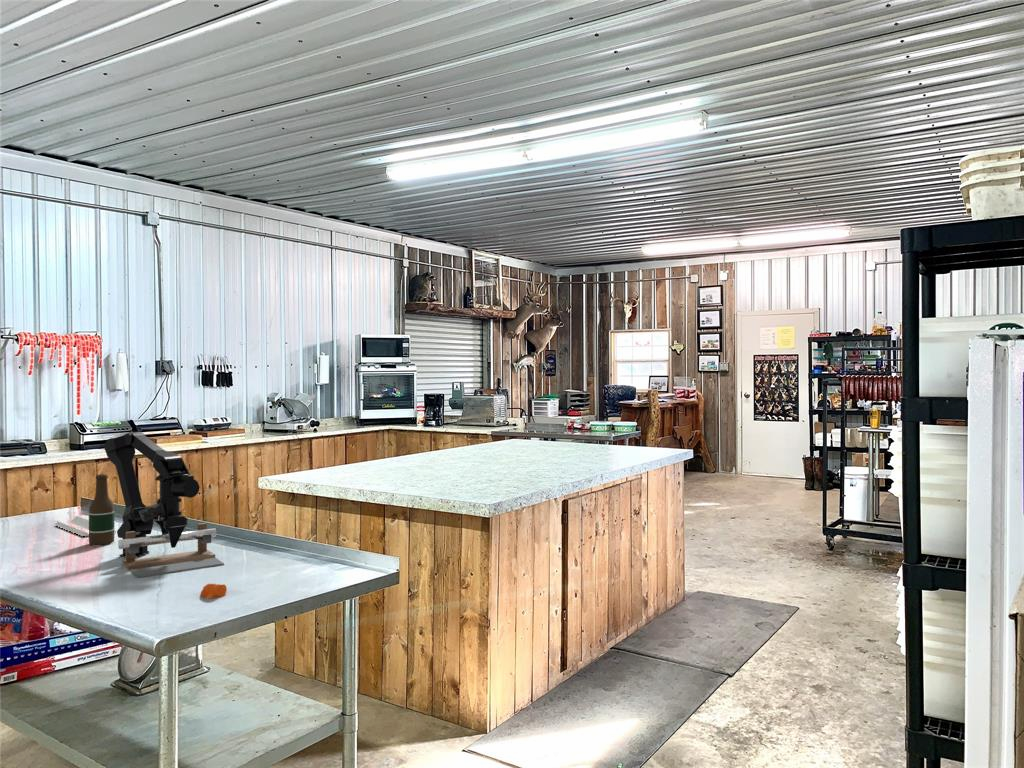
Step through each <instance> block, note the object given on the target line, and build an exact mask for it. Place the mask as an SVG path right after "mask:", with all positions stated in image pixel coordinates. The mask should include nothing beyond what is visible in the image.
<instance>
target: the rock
mask: <svg viewBox="0 0 1024 768" xmlns="http://www.w3.org/2000/svg"><path fill="white" fill-rule="evenodd" d="M227 588H228V587H227V585H226V584H224V583H222V584H221V583H220V584H219V583H207V584H205V585H204V586H203V588H202V591H201V592H200V594H199V595H200V597H202V598H205V599H206V600H211V599H216V598H221V597H224V596H226V593H227V590H228V589H227Z"/></svg>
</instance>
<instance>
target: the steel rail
mask: <svg viewBox="0 0 1024 768" xmlns="http://www.w3.org/2000/svg"><path fill="white" fill-rule="evenodd" d="M205 534H211V538H216V537H217V536H218V535H217V529H216V527H215V528H207V529H205V530H198V529H197V530H189V531H183V532H182V534H181V536H180V538H179V540H178V542H179V543H180V542H185V541H187V542H188V541H195V540H198V539H203V535H205ZM117 541H118V543H117V544H118V547H117V548H118V549H119V550H123V549H125V548H130V544H133V543H139V547H140V546H156V545H162V544H163V545H164V544H170V538H169V534H163V535H162V534H157V535H146V537H138V538H130V539H123V538H121V539H118V540H117ZM178 542H177V543H178Z"/></svg>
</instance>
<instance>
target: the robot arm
mask: <svg viewBox="0 0 1024 768" xmlns="http://www.w3.org/2000/svg"><path fill="white" fill-rule="evenodd" d="M136 450H137V451H138V452H139V453H141V454H142V455H143V456H144V457H146V458H147V459H148V460H149V461H151V462H152V468H153V469H154V470H155V471H156V472H157V473H158V476H156V477H155V479H154V480H155V481H158V482H159V498H157V499H156V503H155V504H153V505H147V506H146V505H145V504H144V503H143V500H142V495H141V491H140V488H139V484H138V483H139V482H138V480H137V476H136V472H135V467H134V463H133V460H134V459H135V458H134V457H135V455H136ZM104 451H105V453H106V457H107V459H108V460H109V461H110V462H111V463H112V464H113V465H114V466H115V468H116V473H117V477H118V482H119V485H120V489H121V493H122V497H123V501H124V505H125V509H124V511H123V514H122V523H121V525H120V526H119V527H118V529H117V530H116V532H117V533H116V535H117V537H118V539H126V532H130V531H135V538H138V537H147V536H148V535H151V534H152V531H153V526H154V523H156V524H157V525H158V526H159V529H160V531H161V535H163V534H169V538H170V543H169V544H170V548H172V549H174V548H176V547H177V544H178V540H179V538H180V536H181V534H182V532H184V530H185V528H186V526H187V525H188V517H186V516H185V515H183V514H182V511H181V510H180V507H181V504H180V503H181V502H182V498H188V499H193V498H195V497H196V496H197V495H198V493H199V492H200V487H201V486H200V485H199V481H198V480H196V479H194V478H195V476H194V475H193V474H190V470H189V469H188V467H187V465H186V464H185V461H184V459H183V457H182V456H181V455H180V454H177V453H175V452H172V451H170V450H169V451H168V450H165V449H163V448H162V447H160V446H159V444H157V443H155V442H154V441H153V440H151V439H150V438H149V437H148V436H146V435H145V433H144V432H142V431H132V432H128V433H125V434H122V435H120V436H117V437H110V438H108V439H107V441H106V442H105V443H104ZM148 546H149V545H148ZM148 546H140V547H139V553H135V558H138V557H141V556H144V555H147V554H149V553H150V550H148V549H149V547H148ZM119 557H120V558H121V557H125V558H126V548H125V549H122V553H121V554H119Z"/></svg>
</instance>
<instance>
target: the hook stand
mask: <svg viewBox="0 0 1024 768" xmlns="http://www.w3.org/2000/svg"><path fill="white" fill-rule="evenodd" d="M207 524H208V523H206V522H202V523H197V530H205V529H208V527H207V526H208V525H207ZM130 538H135V531H130V532H126V539H130ZM207 544H212V537H211V534H205V535H203V539H197V550H195V551H194V550H193V551H187V552H185V551H184V552H180V553H172V554H165V555H157V556H149V557H142V558H136V557H135V553H139V543H133V544H130V548H126V557H125V560H122V563H121V565H122V566H123V565H124V566H125V567H124V566H123V567H124V568H125V569H126V570H127V571H131V570H134V569H141V568H148V567H154V566H161V565H168V564H175V563H182V562H189V561H196V560H203V559H210V558H216V554H215V553H214V552H212V551H210V550H209V549H208V548H207V546H208V545H207Z"/></svg>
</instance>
